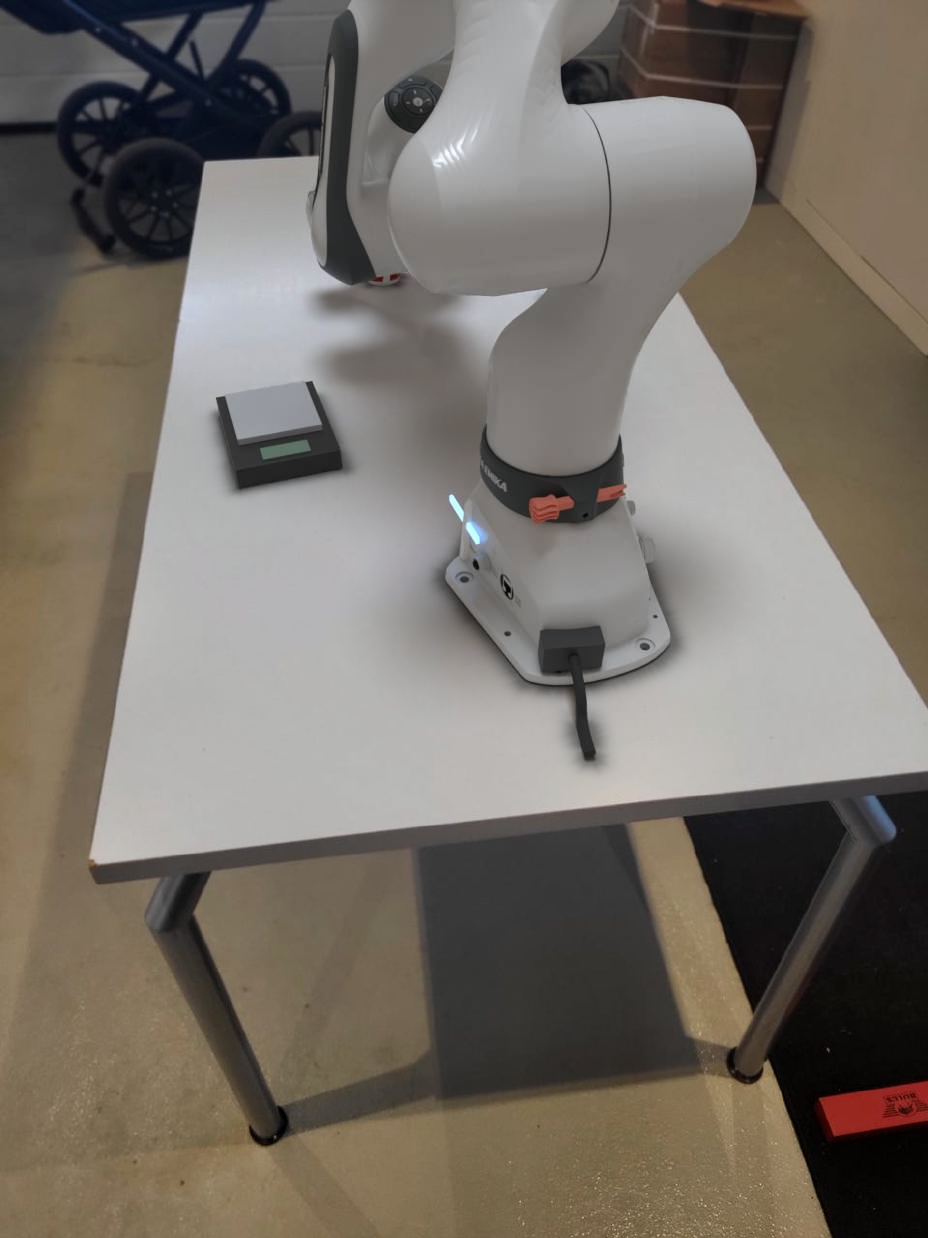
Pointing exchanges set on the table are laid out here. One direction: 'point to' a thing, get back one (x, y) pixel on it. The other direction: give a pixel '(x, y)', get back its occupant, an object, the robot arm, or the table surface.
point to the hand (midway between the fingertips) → (378, 228)
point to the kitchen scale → (278, 433)
